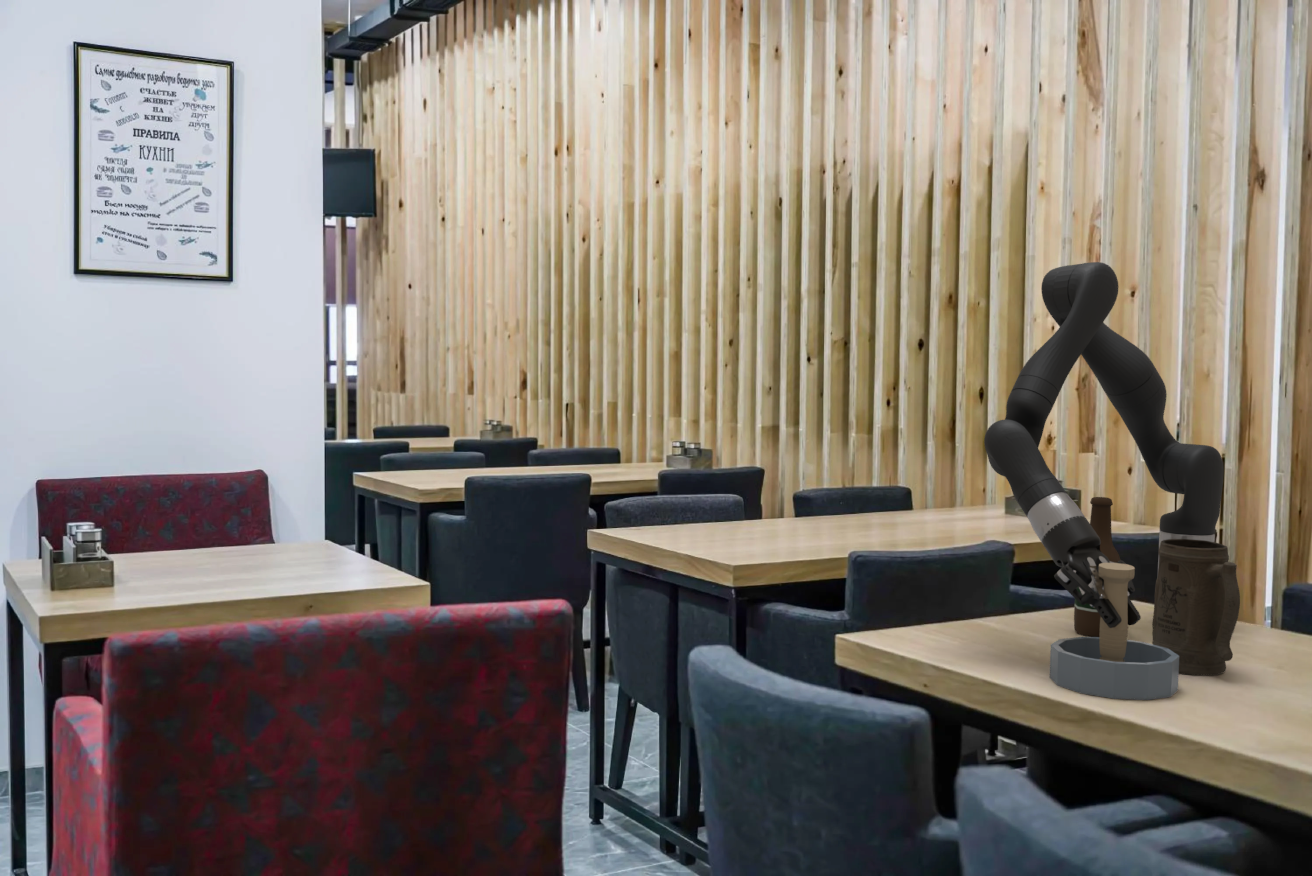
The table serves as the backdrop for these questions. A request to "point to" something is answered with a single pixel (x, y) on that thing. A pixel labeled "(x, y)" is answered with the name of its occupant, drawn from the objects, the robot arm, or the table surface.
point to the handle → (1116, 592)
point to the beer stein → (1196, 604)
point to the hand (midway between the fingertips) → (1125, 623)
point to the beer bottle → (1101, 523)
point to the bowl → (1114, 669)
